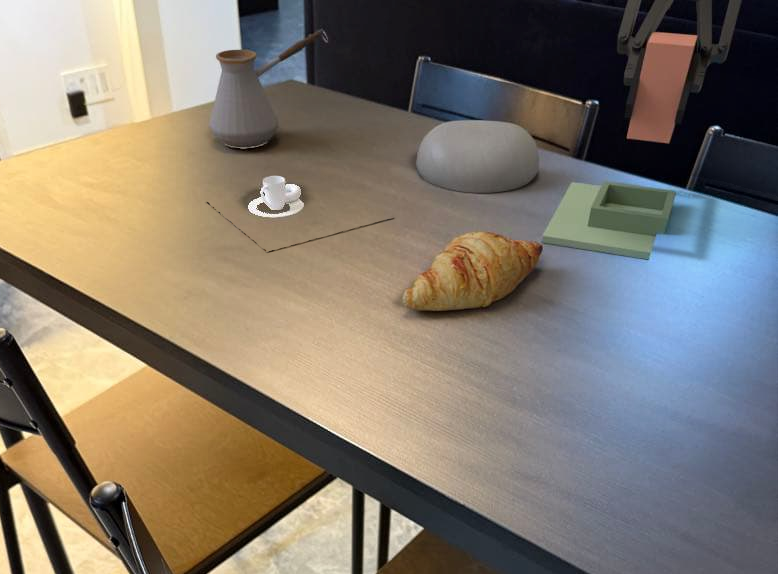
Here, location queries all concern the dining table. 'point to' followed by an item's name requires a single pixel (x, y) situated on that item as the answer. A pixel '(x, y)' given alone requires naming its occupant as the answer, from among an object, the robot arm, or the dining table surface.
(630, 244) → the socket pad
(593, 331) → the dining table surface
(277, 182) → the teacup and saucer
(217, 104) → the coffee pot
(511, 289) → the croissant
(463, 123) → the grey dome pebble
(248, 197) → the dining table surface
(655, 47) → the foam block
